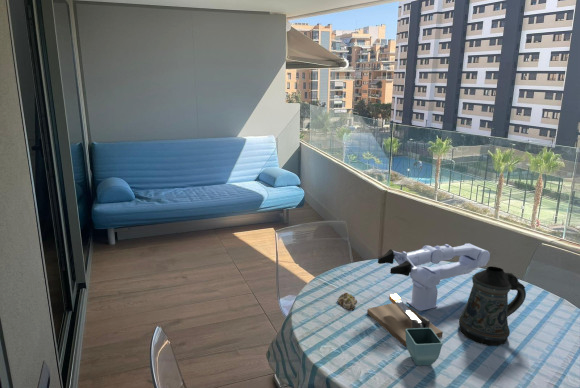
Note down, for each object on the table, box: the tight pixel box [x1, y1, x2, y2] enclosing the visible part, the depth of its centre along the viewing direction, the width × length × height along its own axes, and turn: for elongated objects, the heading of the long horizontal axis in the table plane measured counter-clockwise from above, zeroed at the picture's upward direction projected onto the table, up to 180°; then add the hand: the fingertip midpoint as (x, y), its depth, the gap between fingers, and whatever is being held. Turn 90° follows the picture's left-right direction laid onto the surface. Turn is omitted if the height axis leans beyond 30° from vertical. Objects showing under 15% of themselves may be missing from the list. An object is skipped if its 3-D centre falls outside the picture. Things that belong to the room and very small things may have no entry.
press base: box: [366, 302, 444, 348], centre depth 145 cm, size 16×23×7 cm
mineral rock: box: [337, 292, 358, 311], centre depth 160 cm, size 11×4×8 cm
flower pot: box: [405, 328, 443, 366], centre depth 125 cm, size 9×9×9 cm
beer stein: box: [458, 266, 527, 347], centre depth 139 cm, size 16×19×25 cm
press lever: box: [388, 293, 425, 328], centre depth 143 cm, size 3×17×2 cm, turn 23°
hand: (384, 265), depth 148 cm, fingers open, 7 cm apart
